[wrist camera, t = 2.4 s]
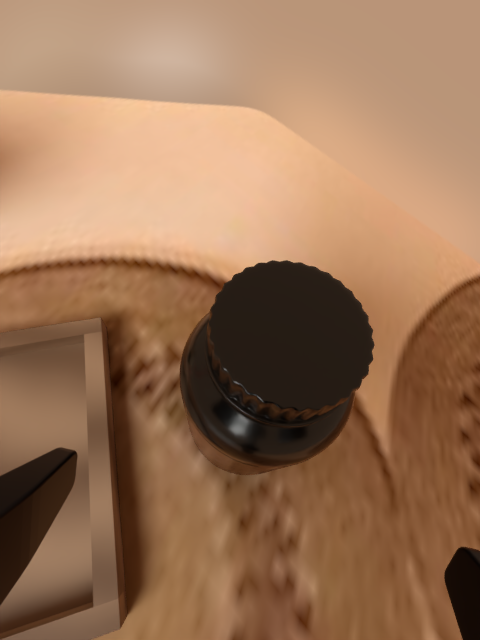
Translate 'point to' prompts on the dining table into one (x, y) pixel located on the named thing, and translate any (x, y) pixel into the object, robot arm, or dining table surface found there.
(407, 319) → the dining table surface
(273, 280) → the supplement bottle
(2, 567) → the robot arm
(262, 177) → the dining table surface
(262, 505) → the dining table surface
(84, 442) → the tray
